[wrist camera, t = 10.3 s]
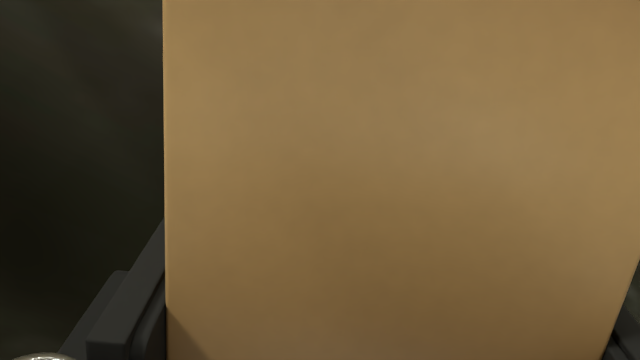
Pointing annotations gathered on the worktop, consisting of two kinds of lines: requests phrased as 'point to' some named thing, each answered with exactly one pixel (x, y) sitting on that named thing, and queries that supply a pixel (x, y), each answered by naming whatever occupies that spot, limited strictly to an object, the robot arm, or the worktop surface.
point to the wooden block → (399, 178)
